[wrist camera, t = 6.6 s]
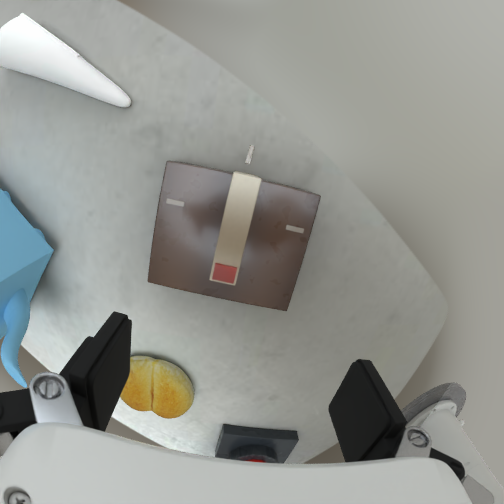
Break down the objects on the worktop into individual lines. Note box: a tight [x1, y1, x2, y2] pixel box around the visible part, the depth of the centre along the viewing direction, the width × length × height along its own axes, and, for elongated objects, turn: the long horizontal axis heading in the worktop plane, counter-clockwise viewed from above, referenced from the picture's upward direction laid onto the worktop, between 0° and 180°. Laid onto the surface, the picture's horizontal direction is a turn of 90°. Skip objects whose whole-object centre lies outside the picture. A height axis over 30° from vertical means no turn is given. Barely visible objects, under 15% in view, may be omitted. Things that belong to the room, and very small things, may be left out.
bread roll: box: [120, 356, 194, 418], centre depth 28 cm, size 8×9×4 cm
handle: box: [209, 171, 262, 286], centre depth 19 cm, size 6×2×6 cm, turn 166°
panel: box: [148, 145, 321, 311], centre depth 23 cm, size 12×12×3 cm
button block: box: [215, 424, 299, 464], centre depth 32 cm, size 10×8×4 cm
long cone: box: [0, 13, 131, 107], centre depth 18 cm, size 6×6×19 cm
